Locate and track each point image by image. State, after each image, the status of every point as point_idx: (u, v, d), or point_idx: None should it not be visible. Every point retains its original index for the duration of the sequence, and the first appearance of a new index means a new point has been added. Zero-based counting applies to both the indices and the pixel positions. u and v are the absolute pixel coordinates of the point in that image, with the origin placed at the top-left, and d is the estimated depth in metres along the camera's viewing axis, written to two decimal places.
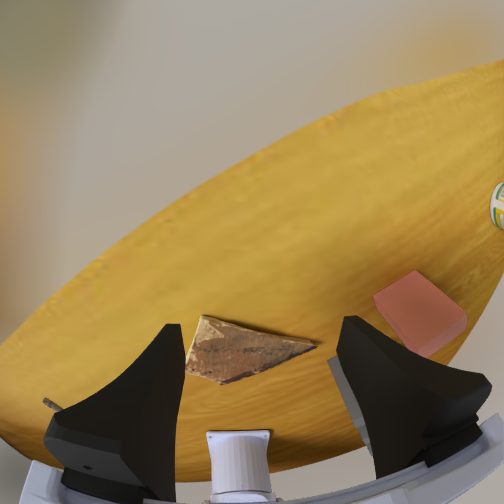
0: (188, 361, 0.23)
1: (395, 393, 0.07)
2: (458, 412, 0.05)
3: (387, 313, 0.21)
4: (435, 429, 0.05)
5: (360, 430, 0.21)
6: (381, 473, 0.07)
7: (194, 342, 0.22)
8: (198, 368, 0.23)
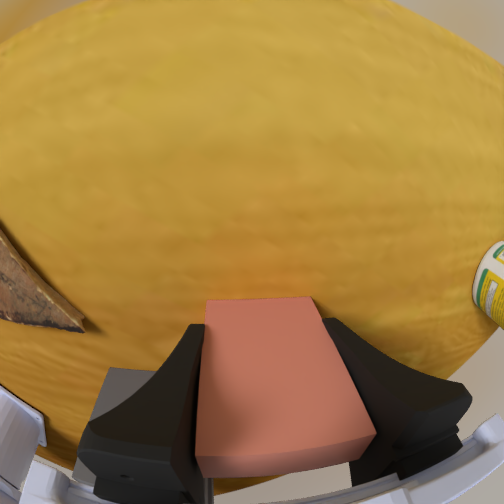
0: None
1: (368, 400, 0.07)
2: (432, 424, 0.05)
3: None
4: (407, 441, 0.05)
5: None
6: (356, 481, 0.07)
7: None
8: None
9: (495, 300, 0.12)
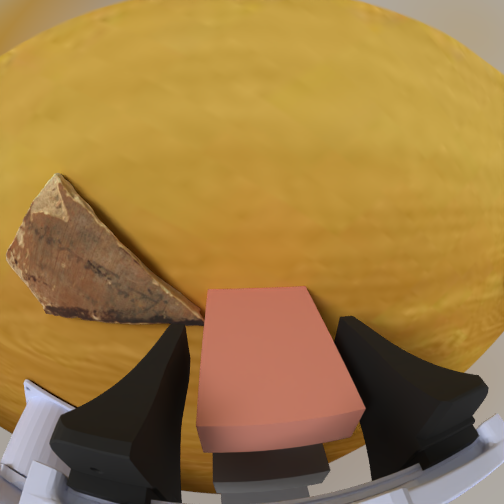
0: (13, 242, 0.11)
1: (389, 395, 0.07)
2: (453, 414, 0.05)
3: None
4: (430, 431, 0.05)
5: None
6: (376, 475, 0.07)
7: (29, 210, 0.10)
8: (22, 263, 0.11)
9: None
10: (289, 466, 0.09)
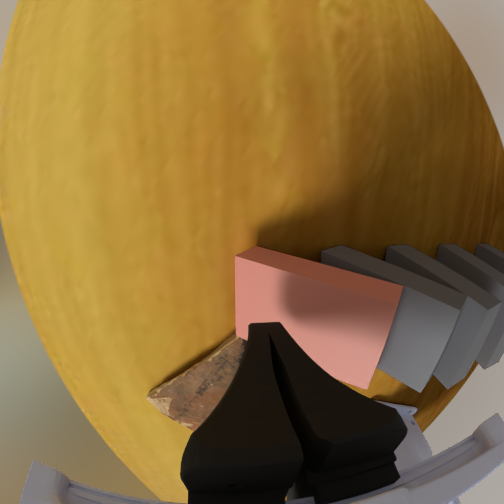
0: (190, 428, 0.19)
1: (291, 414, 0.07)
2: (348, 453, 0.05)
3: None
4: (319, 466, 0.05)
5: (437, 375, 0.11)
6: (288, 495, 0.06)
7: (168, 416, 0.19)
8: None
9: None
10: (435, 338, 0.10)
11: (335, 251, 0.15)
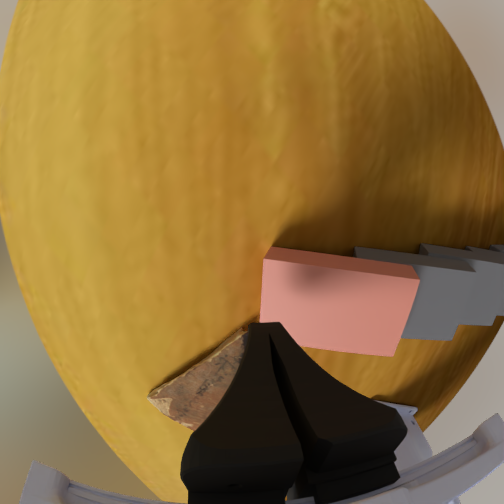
0: (191, 428, 0.19)
1: (291, 414, 0.07)
2: (349, 453, 0.05)
3: None
4: (319, 466, 0.05)
5: (483, 323, 0.15)
6: (288, 495, 0.06)
7: (168, 416, 0.19)
8: None
9: None
10: (461, 297, 0.13)
11: (364, 254, 0.15)
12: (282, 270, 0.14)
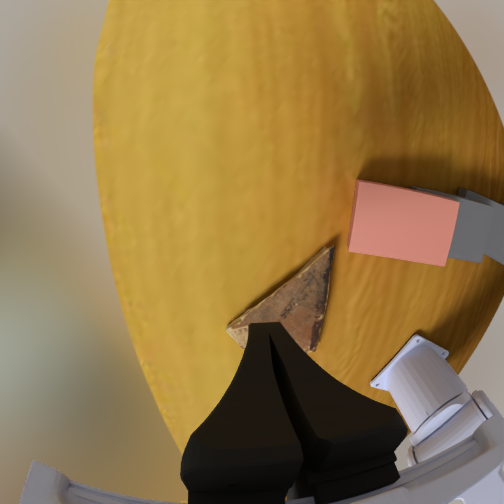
0: None
1: (291, 414, 0.07)
2: (349, 453, 0.05)
3: (385, 256, 0.19)
4: (319, 466, 0.05)
5: (502, 259, 0.18)
6: (288, 495, 0.06)
7: None
8: None
9: None
10: (485, 225, 0.17)
11: (419, 188, 0.18)
12: (372, 190, 0.17)
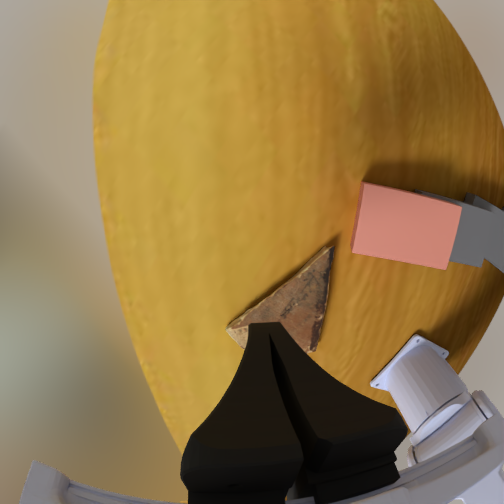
0: None
1: (291, 414, 0.07)
2: (349, 453, 0.05)
3: (388, 258, 0.19)
4: (319, 466, 0.05)
5: (503, 265, 0.19)
6: (288, 495, 0.06)
7: None
8: None
9: None
10: (486, 231, 0.17)
11: (424, 192, 0.18)
12: (376, 193, 0.17)
